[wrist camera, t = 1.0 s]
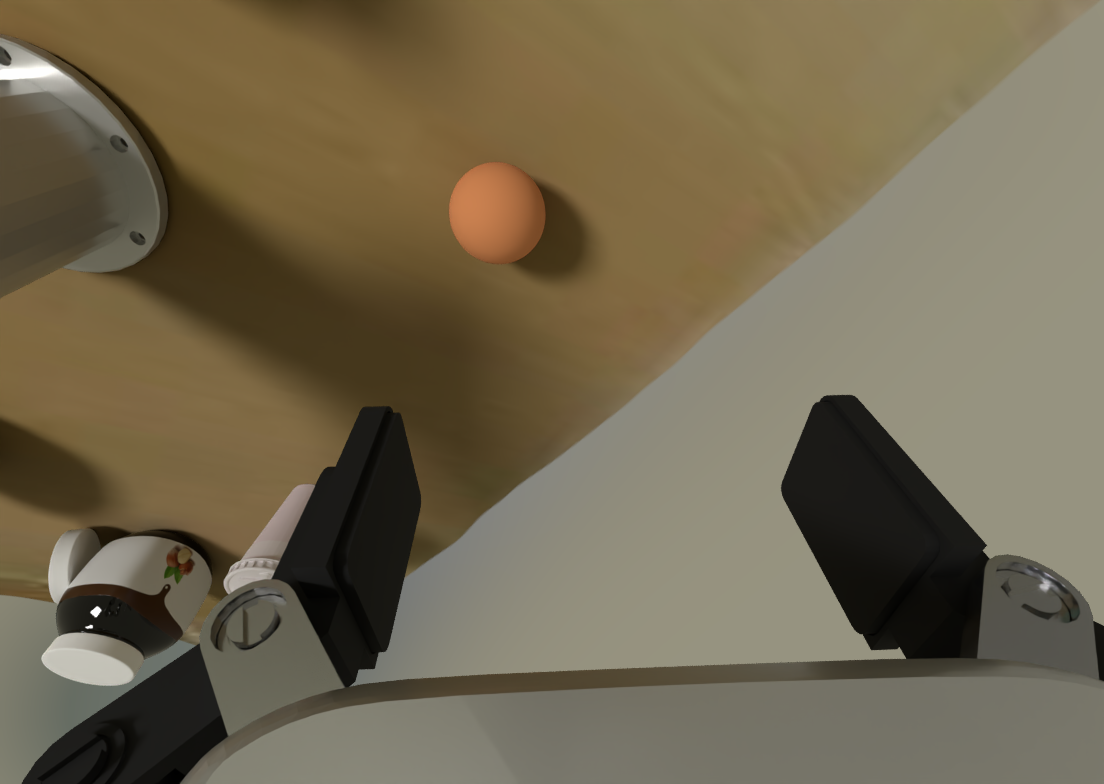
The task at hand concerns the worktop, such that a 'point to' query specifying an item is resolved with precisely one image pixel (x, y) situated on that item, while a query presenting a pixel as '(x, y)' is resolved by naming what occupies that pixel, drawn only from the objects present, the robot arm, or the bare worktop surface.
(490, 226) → the ball
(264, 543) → the smoothie
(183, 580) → the spread jar
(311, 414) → the worktop surface
